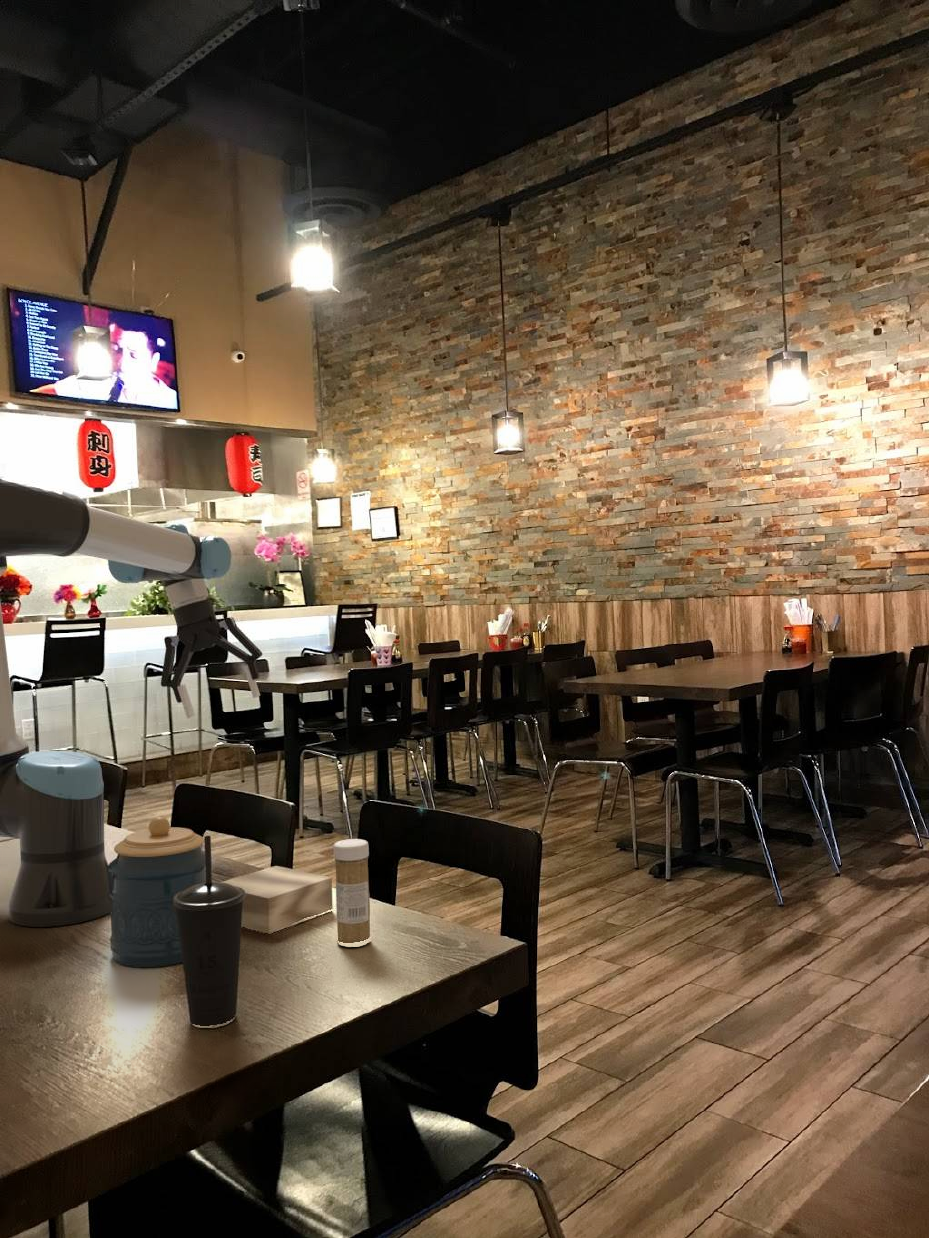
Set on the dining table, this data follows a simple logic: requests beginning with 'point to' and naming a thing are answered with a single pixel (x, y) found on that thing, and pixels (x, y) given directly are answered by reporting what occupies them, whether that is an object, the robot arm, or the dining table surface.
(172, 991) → the dining table surface
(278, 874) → the maple block
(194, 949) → the drinking cup
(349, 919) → the sprinkles bottle
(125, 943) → the canister
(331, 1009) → the dining table surface
